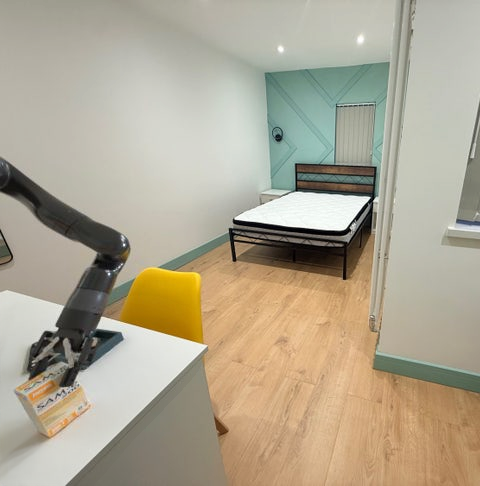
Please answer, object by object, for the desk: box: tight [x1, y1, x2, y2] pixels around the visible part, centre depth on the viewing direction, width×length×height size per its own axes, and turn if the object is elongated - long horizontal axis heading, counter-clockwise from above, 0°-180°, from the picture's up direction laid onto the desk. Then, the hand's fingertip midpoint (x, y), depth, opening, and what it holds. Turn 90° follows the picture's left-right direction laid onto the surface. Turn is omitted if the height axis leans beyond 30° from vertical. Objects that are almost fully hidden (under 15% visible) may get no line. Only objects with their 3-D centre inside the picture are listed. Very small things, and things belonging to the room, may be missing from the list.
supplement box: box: [13, 361, 92, 439], centre depth 59 cm, size 8×5×13 cm, turn 160°
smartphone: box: [26, 341, 57, 373], centre depth 80 cm, size 7×1×15 cm
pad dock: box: [54, 328, 125, 371], centre depth 80 cm, size 10×13×3 cm
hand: (49, 383), depth 57 cm, fingers open, 8 cm apart
